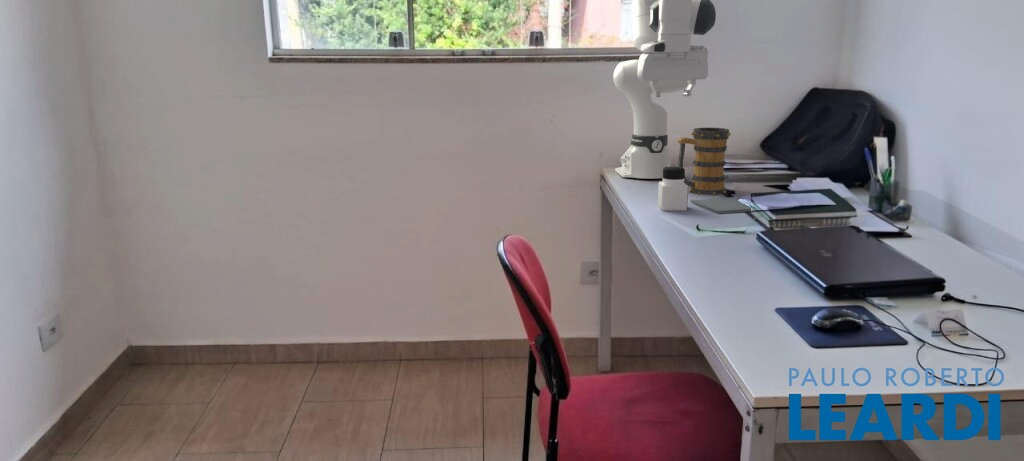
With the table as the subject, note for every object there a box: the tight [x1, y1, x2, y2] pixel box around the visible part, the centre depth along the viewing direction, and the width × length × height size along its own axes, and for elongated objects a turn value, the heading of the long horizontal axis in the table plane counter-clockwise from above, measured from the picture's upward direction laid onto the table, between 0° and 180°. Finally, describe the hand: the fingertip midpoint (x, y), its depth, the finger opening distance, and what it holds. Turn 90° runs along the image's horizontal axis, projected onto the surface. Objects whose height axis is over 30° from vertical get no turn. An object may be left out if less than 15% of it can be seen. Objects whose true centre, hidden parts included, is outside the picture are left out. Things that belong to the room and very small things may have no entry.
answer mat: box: [690, 196, 752, 215], centre depth 218 cm, size 16×16×1 cm
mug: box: [676, 127, 732, 196], centre depth 235 cm, size 13×17×20 cm
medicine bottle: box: [657, 165, 689, 212], centre depth 215 cm, size 7×7×12 cm
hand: (672, 96), depth 212 cm, fingers open, 8 cm apart
